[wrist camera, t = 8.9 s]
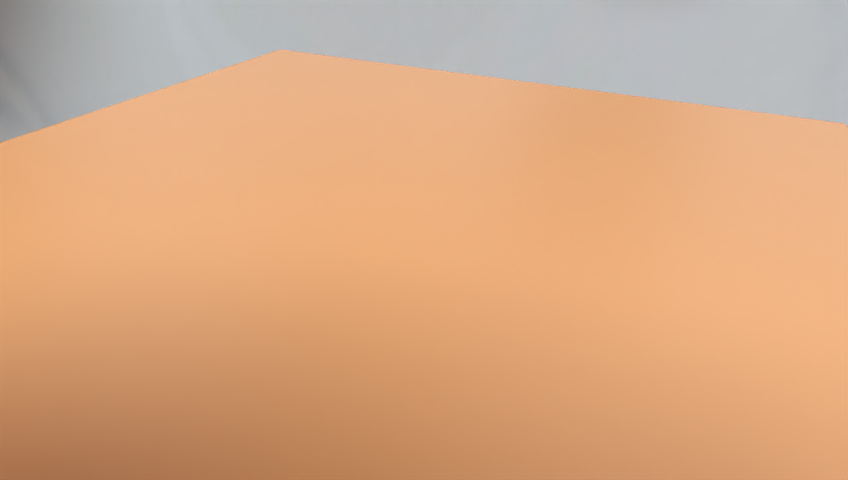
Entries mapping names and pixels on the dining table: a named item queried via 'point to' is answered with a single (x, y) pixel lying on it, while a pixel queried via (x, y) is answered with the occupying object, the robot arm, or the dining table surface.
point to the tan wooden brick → (422, 284)
